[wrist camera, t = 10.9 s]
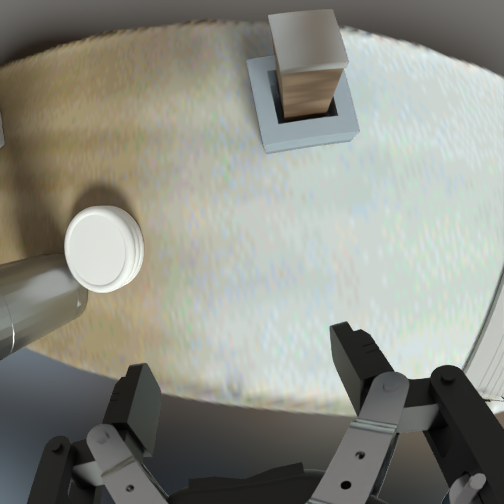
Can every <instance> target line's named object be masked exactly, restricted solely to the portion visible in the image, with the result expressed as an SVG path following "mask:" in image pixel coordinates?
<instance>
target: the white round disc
mask: <svg viewBox="0 0 504 504" xmlns="http://www.w3.org/2000/svg"><path fill="white" fill-rule="evenodd" d="M64 249H65V257H66V261H67V264H68V267H69V269H70V271H71V273H72V274H73V276H74V277H75V279H76V280H77V281H78V282H79V283H80V284H81V285H82V286H84V287H85V288H87V289H89V290H91V291H94V292H101V293H105V292H111V291H114V290H116V289H118V288H120V287H122V286H124V285H126V284H128V283H129V282H130V281H131V280H133V279H134V277H135V276H136V275H137V273H138V272H139V270H140V268H141V265H142V262H143V257H144V242H143V237H142V233H141V231H140V228H139V226H138V224H137V223H136V221H135V220H134V219H133V218H132V217H131V215H129V214H128V213H127V212H126V211H124V210H122V209H120V208H118V207H115V206H92V207H88V208H86V209H84V210H82V211H81V212H79V213H78V214H77V215H76V216H75V217H74V218H73V219H72V221H71V222H70V224H69V226H68V229H67V232H66V236H65V242H64Z"/></svg>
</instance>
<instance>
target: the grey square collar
mask: <svg viewBox="0 0 504 504" xmlns="http://www.w3.org/2000/svg"><path fill="white" fill-rule="evenodd" d="M246 62H247V67H248V72H249V76H250V81H251V86H252V91H253V96H254V101H255V106H256V111H257V116H258V121H259V126H260V131H261V136H262V142H263V146H264V148H265V151H266V153H267V154H270V153H276V152H281V151H287V150H293V149H300V148H306V147H313V146H320V145H327V144H334V143H342V142H350V141H351V140H352V139H353V138H354V137H355V136H356V135H357V134H358V132H359V131H360V129H359V125H358V121H357V117H356V112H355V108H354V104H353V101H352V97H351V93H350V89H349V85H348V82H347V78H346V75H345V71H344V69H343V72H342V74H341V77H340V79H339V82H338V85H337V87H336V90H335V92H334V95H333V97H332V100H331V102H330V105H329V108H328V110H327V113H326V115H325V117H324V118H316V119H309V120H302V121H296V122H289V123H284V118H283V113H282V108H281V103H280V97H279V92H278V83H277V74H276V65H275V56H274V55H270V56H264V57H259V58H253V59H248V60H246Z"/></svg>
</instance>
